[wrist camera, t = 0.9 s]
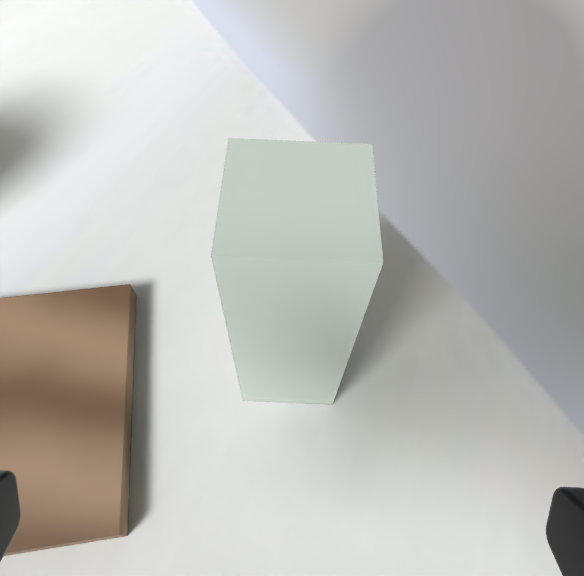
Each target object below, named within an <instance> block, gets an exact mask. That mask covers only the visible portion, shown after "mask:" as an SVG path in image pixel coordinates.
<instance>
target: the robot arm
mask: <svg viewBox="0 0 584 576" xmlns="http://www.w3.org/2000/svg"><path fill="white" fill-rule="evenodd" d="M20 517H21V509H20V502H19V494H18V487H17V480H16V476H15V474H14V473H13V472H11V471H9V470H0V562H1V560H2V558H3V556H4V554H5V552H6V550H7V548H8V546H9V544H10V542H11V540H12V538H13V536H14V534H15V532H16V530H17V528H18V525H19V522H20ZM546 535H547V540H548V543H549V546H550V548H551V550H552V553H553V555H554V557H555V559H556V562H557V564H558V566H559V568H560V571H561V573H562V575H563V576H584V488H576V487H560V488H557V489H556V490H555V492H554V494H553V497H552V502H551V507H550V511H549V516H548V520H547V525H546Z"/></svg>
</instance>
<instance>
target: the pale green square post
mask: <svg viewBox="0 0 584 576" xmlns="http://www.w3.org/2000/svg"><path fill="white" fill-rule="evenodd" d="M211 258H212V263H213V267H214V272H215V276H216V281H217V286H218V290H219V295H220V299H221V304H222V308H223V313H224V318H225V322H226V327H227V331H228V336H229V340H230V345H231V350H232V354H233V359H234V363H235V368H236V372H237V377H238V382H239V386H240V391H241V395H242V400H243V401H260V402H287V403H315V404H333V402H334V399H335V396H336V393H337V391H338V388H339V385H340V382H341V380H342V377H343V374H344V371H345V368H346V366H347V363H348V360H349V357H350V354H351V352H352V349H353V346H354V343H355V341H356V338H357V335H358V332H359V329H360V327H361V324H362V321H363V318H364V315H365V313H366V310H367V307H368V304H369V302H370V299H371V296H372V293H373V290H374V288H375V285H376V282H377V279H378V276H379V274H380V271H381V268H382V265H383V253H382V242H381V232H380V221H379V211H378V200H377V190H376V179H375V168H374V158H373V148H372V144H354V143H353V144H352V143H330V142H306V141H282V140H258V139H235V138H229V139H228V145H227V152H226V159H225V166H224V172H223V179H222V186H221V192H220V199H219V206H218V213H217V219H216V226H215V233H214V239H213V246H212V253H211Z"/></svg>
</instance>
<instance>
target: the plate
mask: <svg viewBox="0 0 584 576" xmlns="http://www.w3.org/2000/svg"><path fill="white" fill-rule="evenodd" d="M135 316H136V294H135V292H134V290H133V288H132V287H131V285H130V284H129V285H119V286H110V287H100V288H91V289H81V290H72V291H62V292H53V293H44V294H34V295H25V296H15V297H6V298H0V470H9V471H11V472H13V473H14V474H15V476H16V480H17V487H18V494H19V502H20V509H21V517H20V522H19V525H18V528H17V530H16V532H15V534H14V536H13V538H12V540H11V542H10V544H9V546H8V548H7V550H6V552H5V554H4V556H6V555H12V554H18V553H25V552H31V551H37V550H43V549H49V548H56V547H62V546H68V545H74V544H80V543H86V542H93V541H99V540H105V539H111V538H117V537H124V536H127V535H128V507H129V480H130V453H131V425H132V398H133V371H134V343H135Z"/></svg>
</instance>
